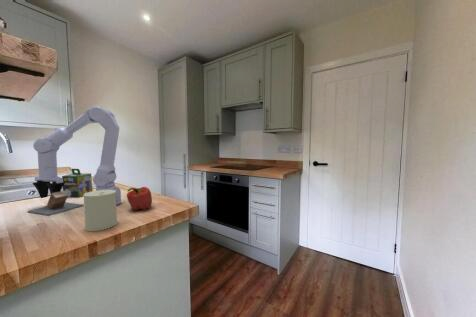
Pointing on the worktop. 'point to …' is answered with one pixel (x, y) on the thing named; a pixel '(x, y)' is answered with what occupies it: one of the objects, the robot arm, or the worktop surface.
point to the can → (100, 210)
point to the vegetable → (139, 198)
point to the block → (57, 200)
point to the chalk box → (77, 183)
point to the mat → (48, 211)
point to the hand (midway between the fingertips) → (49, 198)
